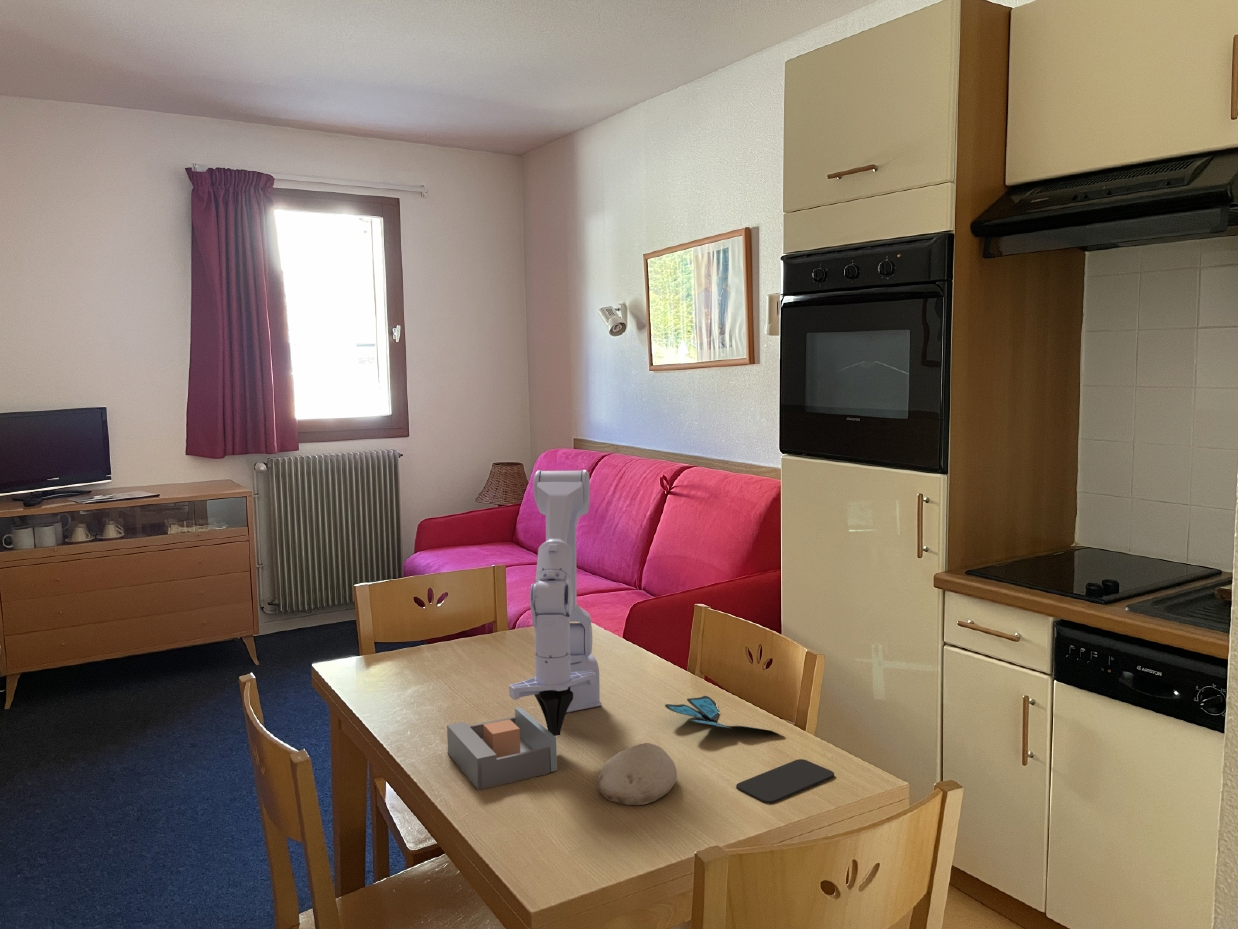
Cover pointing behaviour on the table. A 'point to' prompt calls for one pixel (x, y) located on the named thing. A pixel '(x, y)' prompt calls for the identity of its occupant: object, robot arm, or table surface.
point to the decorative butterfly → (703, 706)
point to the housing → (492, 757)
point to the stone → (637, 775)
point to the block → (502, 737)
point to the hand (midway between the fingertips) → (554, 733)
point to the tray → (535, 736)
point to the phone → (785, 781)
